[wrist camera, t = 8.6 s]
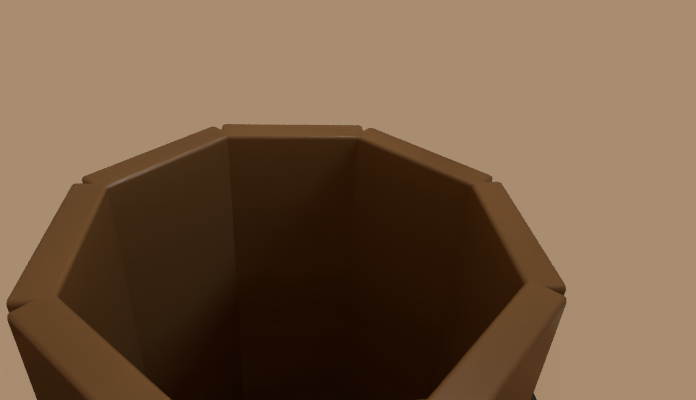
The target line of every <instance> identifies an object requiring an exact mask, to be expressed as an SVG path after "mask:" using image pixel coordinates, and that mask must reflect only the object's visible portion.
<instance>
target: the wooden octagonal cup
mask: <svg viewBox="0 0 696 400" xmlns="http://www.w3.org/2000/svg"><path fill="white" fill-rule="evenodd" d="M82 182H83V184H73V185H72V186H71V188H70V190H69V192H68V193H67V195H66V197H65V199H64V201H63V202H62V204H61V206H60V208H59V210H58V211H57V213H56V215H55V216H54V218H53V220H52V222H51V224H50V226H49V227H48V229H47V231H46V233H45V234H44V236H43V238H42V239H41V241H40V243H39V245H38V247H37V248H36V250H35V252H34V254H33V255H32V257H31V259H30V261H29V263H28V265H27V266H26V268H25V270H24V271H23V273H22V275H21V277H20V279H19V281H18V282H17V284H16V286H15V287H14V289H13V291H12V293H11V294H10V296H9V298H8V300H7V308H8V311H9V314H8V317H7V318H8V323H9V325H10V328H11V331H12V333H13V336H14V339H15V341H16V344H17V346H18V350H19V352H20V355H21V358H22V360H23V363H24V366H25V368H26V371H27V373H28V376H29V379H30V382H31V384H32V387H33V390H34V392H35V395H36V398H37V400H531V398H532V395H533V392H534V390H535V387H536V384H537V381H538V379H539V376H540V373H541V371H542V368H543V365H544V362H545V360H546V357H547V354H548V351H549V349H550V346H551V343H552V341H553V338H554V335H555V332H556V330H557V327H558V324H559V321H560V319H561V316H562V313H563V311H564V308H565V305H566V297H565V296H564V294H565V291H566V287H565V284H564V282H563V281H562V279H561V278H560V276H559V274H558V273H557V271H556V270H555V268H554V266H553V265H552V264H551V262H550V260H549V258H548V257H547V255H546V254H545V252H544V251H543V249H542V247H541V246H540V244H539V243H538V241H537V239H536V238H535V236H534V235H533V233H532V231H531V230H530V228H529V227H528V225H527V223H526V222H525V220H524V219H523V217H522V216H521V214H520V212H519V211H518V209H517V207H516V206H515V204H514V203H513V201H512V200H511V198H510V196H509V195H508V194H507V192H506V190H505V188H504V187H503V185H502V184H501V183H499V182H492V177H491V176H490V175H488V174H485V173H483V172H480V171H478V170H475V169H473V168H471V167H468V166H466V165H463V164H461V163H458V162H455V161H453V160H451V159H448V158H446V157H443V156H441V155H438V154H435V153H433V152H431V151H428V150H425V149H423V148H420V147H418V146H416V145H413V144H410V143H408V142H406V141H403V140H401V139H398V138H395V137H393V136H390V135H388V134H386V133H383V132H381V131H378V130H376V129H373V128H368V129H366V130H365V131H363V130H362V127H361V126H359V125H357V126H353V125H241V124H239V125H237V124H234V125H233V124H225V125H223V127H222V130H220V129H218V128H216V127H210V128H207V129H205V130H202V131H200V132H197V133H195V134H192V135H189V136H187V137H184V138H182V139H179V140H177V141H174V142H171V143H169V144H166V145H164V146H161V147H159V148H156V149H154V150H151V151H149V152H146V153H143V154H141V155H138V156H135V157H133V158H130V159H128V160H125V161H123V162H120V163H117V164H115V165H113V166H110V167H107V168H105V169H102V170H99V171H97V172H95V173H92V174H89V175H87V176H84V177H83V178H82Z"/></svg>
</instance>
